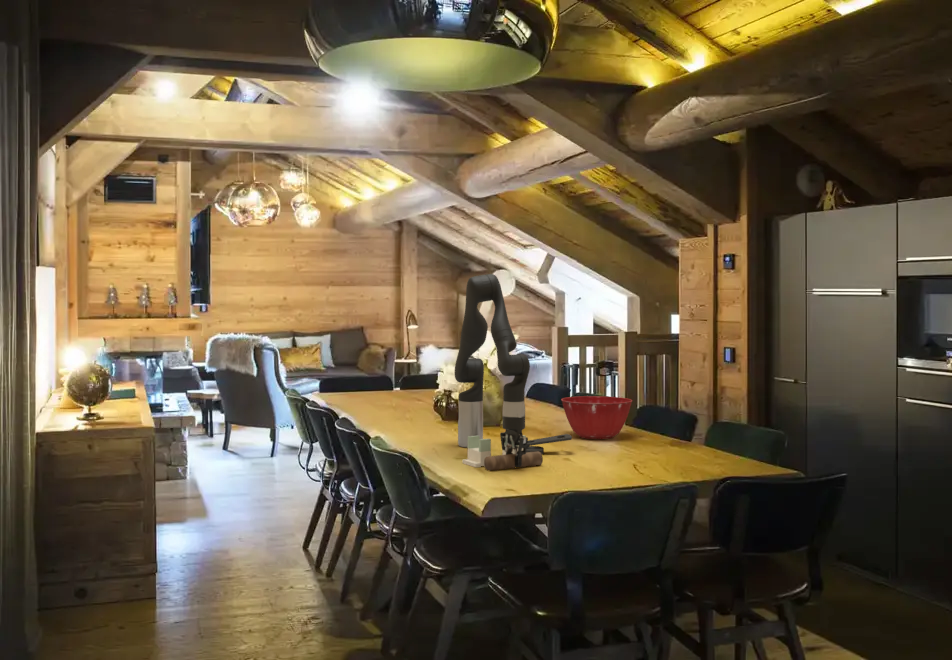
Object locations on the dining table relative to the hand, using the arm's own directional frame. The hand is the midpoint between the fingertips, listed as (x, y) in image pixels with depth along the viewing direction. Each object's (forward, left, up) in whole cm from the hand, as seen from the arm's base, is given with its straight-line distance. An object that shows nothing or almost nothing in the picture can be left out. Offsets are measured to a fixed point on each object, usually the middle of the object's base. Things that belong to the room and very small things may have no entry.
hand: (513, 465), depth 307 cm
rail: (0, 0, -1) cm, 1 cm away
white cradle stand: (-11, 0, -1) cm, 11 cm away
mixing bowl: (-39, +64, -1) cm, 75 cm away
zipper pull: (-19, +22, -1) cm, 29 cm away
